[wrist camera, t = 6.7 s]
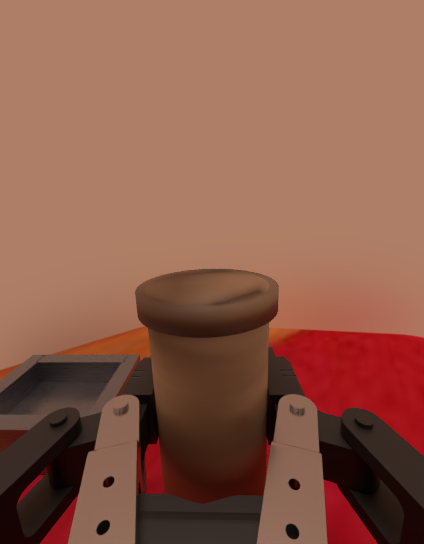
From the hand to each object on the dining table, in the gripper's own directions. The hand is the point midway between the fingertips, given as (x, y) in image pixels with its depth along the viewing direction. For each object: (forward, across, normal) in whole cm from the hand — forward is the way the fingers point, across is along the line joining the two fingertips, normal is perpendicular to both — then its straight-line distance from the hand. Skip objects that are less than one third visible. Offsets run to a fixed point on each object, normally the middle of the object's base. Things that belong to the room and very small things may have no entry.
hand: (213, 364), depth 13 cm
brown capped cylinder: (-3, 0, +7) cm, 8 cm away
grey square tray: (+5, +12, +8) cm, 15 cm away
